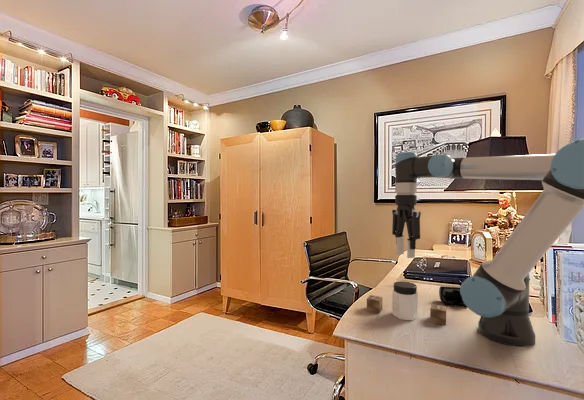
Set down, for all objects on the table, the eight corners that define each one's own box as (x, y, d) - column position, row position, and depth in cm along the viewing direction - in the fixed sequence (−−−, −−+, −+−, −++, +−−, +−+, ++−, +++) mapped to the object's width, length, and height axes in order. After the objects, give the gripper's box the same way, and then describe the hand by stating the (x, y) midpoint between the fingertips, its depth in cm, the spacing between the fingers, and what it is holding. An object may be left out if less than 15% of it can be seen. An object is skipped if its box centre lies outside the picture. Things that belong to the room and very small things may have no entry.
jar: (388, 312, 115) (388, 282, 114) (405, 310, 117) (406, 280, 117) (403, 322, 106) (403, 289, 106) (422, 319, 109) (422, 287, 108)
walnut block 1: (446, 319, 108) (446, 305, 108) (445, 325, 104) (446, 310, 104) (431, 317, 111) (431, 303, 111) (430, 322, 107) (430, 308, 106)
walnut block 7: (382, 309, 118) (382, 296, 118) (379, 313, 114) (379, 300, 114) (369, 307, 121) (369, 294, 120) (366, 311, 116) (366, 298, 116)
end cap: (464, 301, 127) (464, 285, 127) (470, 307, 120) (470, 291, 120) (438, 299, 129) (439, 284, 129) (443, 305, 122) (443, 289, 122)
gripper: (432, 194, 103) (431, 260, 103) (398, 194, 121) (398, 250, 121) (414, 194, 101) (413, 262, 101) (382, 194, 119) (382, 251, 119)
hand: (405, 255), depth 111 cm, fingers open, 6 cm apart
